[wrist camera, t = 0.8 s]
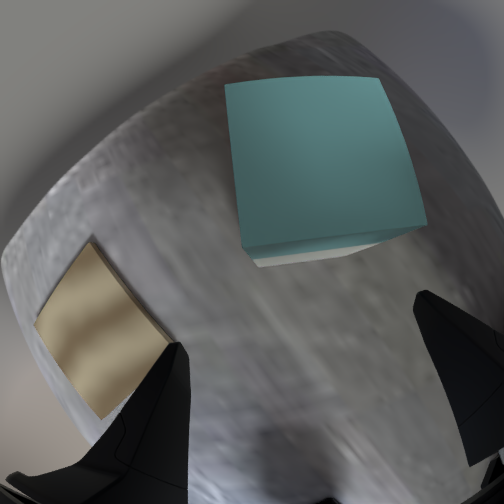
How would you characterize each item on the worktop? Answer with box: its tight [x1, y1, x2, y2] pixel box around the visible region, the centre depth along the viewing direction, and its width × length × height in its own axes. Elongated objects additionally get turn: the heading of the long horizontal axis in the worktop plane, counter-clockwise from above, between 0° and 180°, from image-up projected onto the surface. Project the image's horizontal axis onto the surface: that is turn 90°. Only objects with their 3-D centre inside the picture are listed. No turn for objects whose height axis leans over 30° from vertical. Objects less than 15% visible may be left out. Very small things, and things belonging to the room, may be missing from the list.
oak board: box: [34, 242, 173, 420], centre depth 22 cm, size 13×13×1 cm
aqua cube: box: [224, 76, 427, 260], centre depth 13 cm, size 7×7×6 cm
